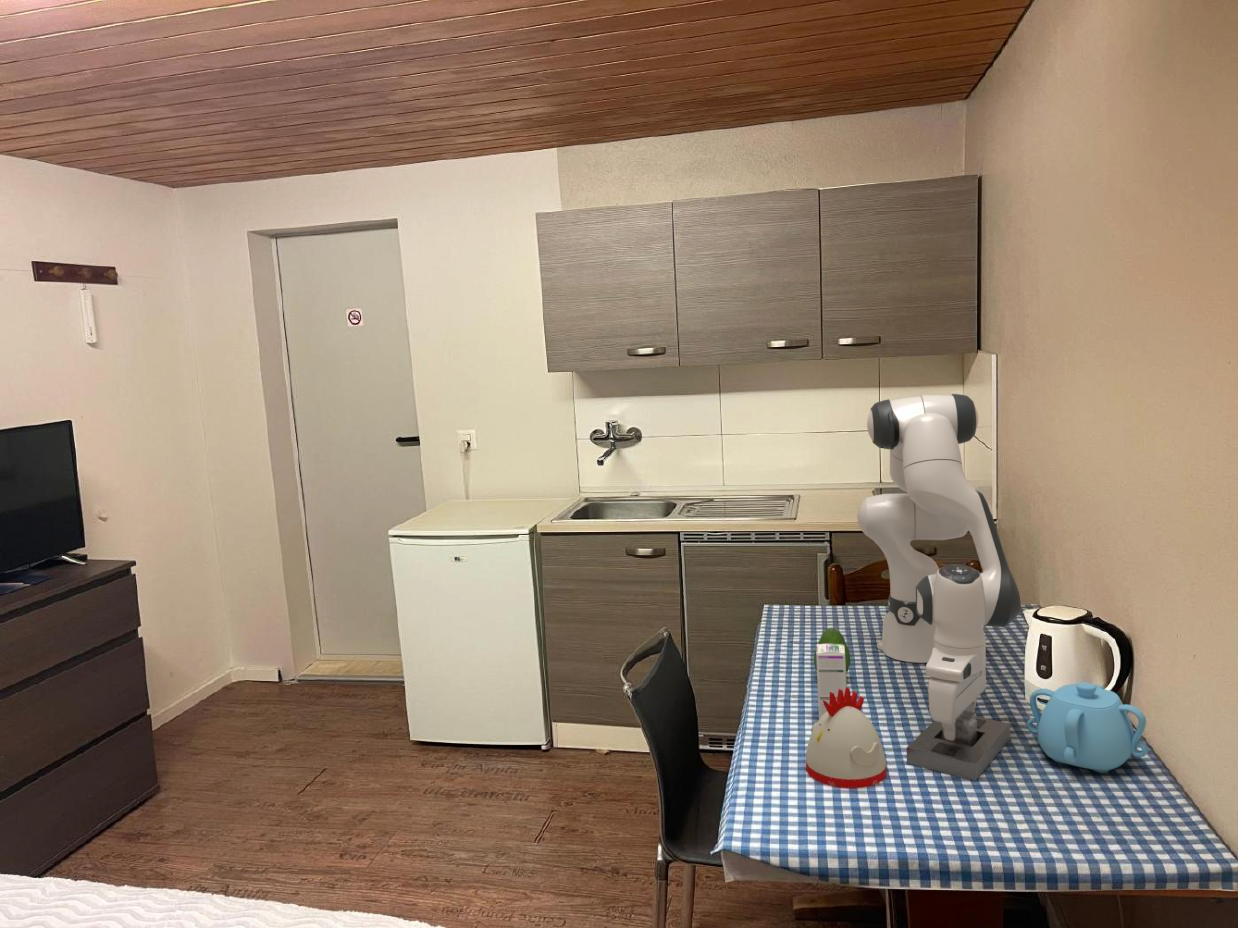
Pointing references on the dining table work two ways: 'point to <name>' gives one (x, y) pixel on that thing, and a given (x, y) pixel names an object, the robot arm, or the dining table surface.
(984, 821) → the dining table surface
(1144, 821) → the dining table surface
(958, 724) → the stepped metal block
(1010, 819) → the dining table surface
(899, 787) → the dining table surface
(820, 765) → the kitchen timer
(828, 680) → the syrup box
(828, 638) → the avocado
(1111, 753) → the decorative pot
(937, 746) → the grey flat block
